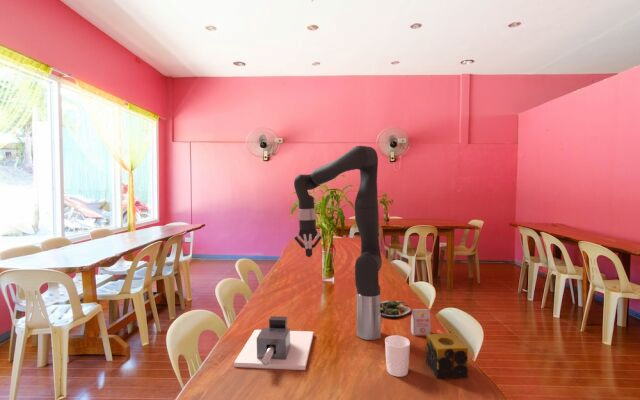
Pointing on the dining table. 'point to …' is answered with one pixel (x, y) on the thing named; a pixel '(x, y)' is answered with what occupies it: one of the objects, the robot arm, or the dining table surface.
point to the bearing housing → (274, 342)
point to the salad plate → (393, 309)
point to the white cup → (397, 355)
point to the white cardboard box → (420, 322)
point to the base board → (294, 360)
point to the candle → (447, 356)
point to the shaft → (274, 323)
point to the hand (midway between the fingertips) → (309, 256)
